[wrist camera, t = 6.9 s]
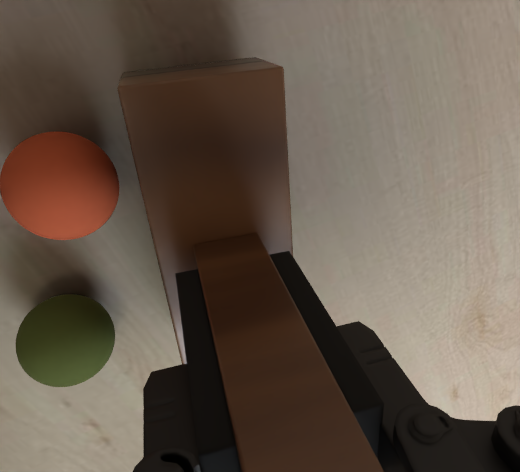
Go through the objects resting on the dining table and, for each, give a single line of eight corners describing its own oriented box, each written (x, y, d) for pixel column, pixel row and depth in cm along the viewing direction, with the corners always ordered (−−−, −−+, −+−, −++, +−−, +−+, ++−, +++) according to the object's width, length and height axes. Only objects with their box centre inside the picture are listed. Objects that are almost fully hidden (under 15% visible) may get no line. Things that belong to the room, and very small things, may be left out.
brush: (121, 72, 15) (49, 267, 3) (257, 56, 16) (573, 168, 4) (186, 358, 22) (236, 752, 10) (279, 336, 23) (423, 676, 11)
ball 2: (74, 336, 16) (116, 276, 19) (-23, 336, 16) (35, 277, 20) (102, 408, 18) (136, 341, 21) (15, 406, 18) (62, 341, 22)
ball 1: (125, 126, 15) (74, 115, 17) (5, 159, 12) (-35, 140, 15) (149, 226, 17) (99, 203, 19) (49, 273, 14) (7, 239, 17)
